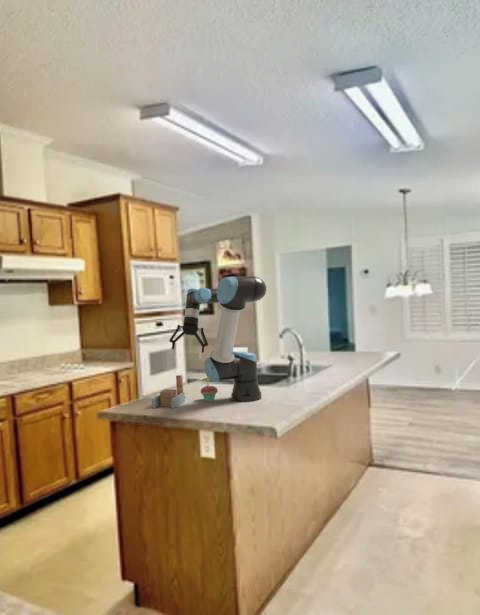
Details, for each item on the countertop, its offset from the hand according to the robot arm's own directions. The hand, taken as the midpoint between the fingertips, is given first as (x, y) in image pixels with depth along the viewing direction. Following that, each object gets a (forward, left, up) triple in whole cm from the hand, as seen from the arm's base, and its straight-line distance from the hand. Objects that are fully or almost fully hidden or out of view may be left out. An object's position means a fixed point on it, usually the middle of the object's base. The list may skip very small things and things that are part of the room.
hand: (187, 357), depth 254 cm
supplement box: (+16, -48, -21) cm, 55 cm away
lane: (-7, +18, -20) cm, 28 cm away
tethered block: (-4, +12, -20) cm, 24 cm away
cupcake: (-16, 0, -21) cm, 26 cm away
